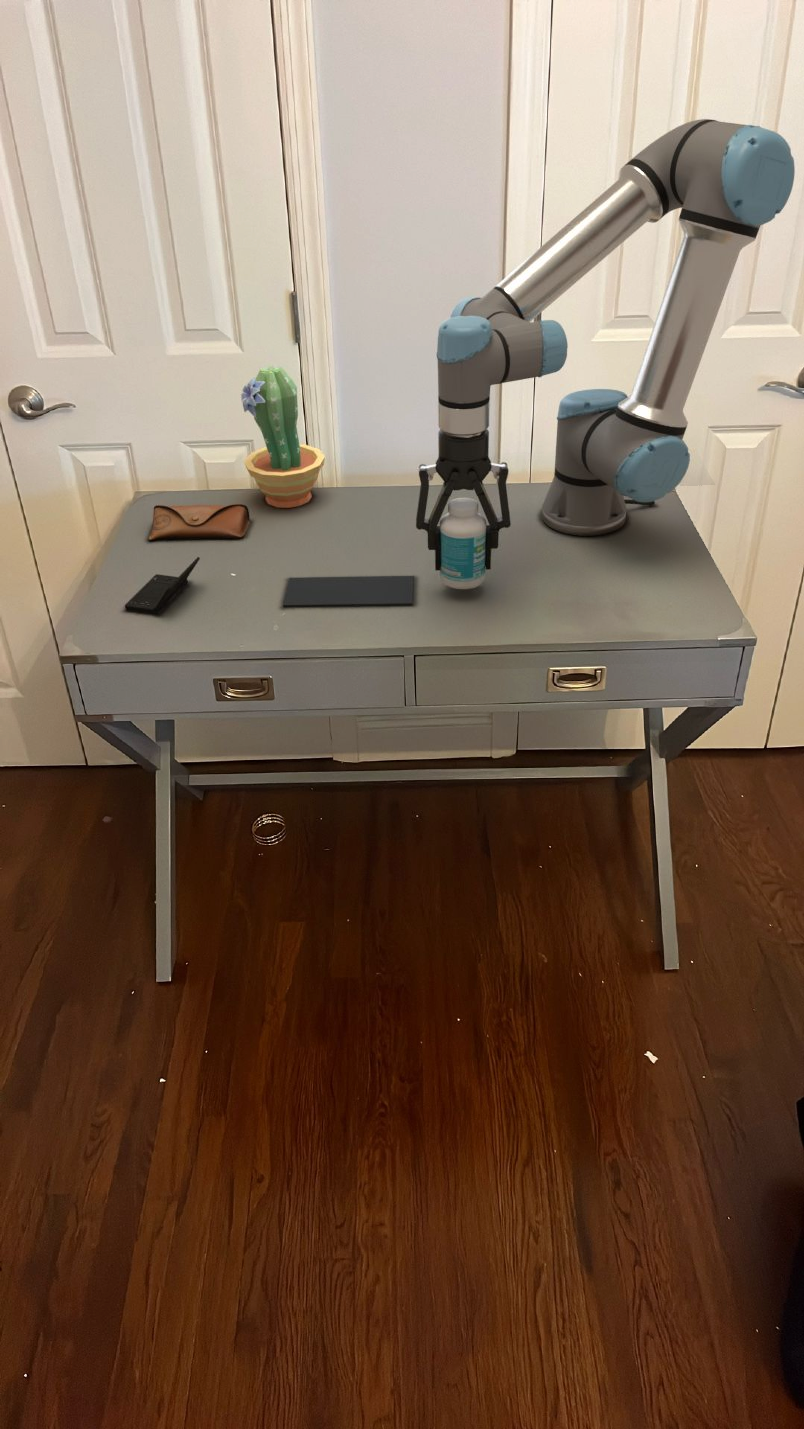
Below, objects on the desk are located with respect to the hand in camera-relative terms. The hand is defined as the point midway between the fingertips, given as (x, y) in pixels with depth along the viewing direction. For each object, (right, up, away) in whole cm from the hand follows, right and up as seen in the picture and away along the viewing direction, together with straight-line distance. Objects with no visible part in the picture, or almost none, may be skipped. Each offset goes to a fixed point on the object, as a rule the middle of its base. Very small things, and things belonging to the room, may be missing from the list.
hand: (462, 565), depth 161 cm
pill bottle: (0, -2, +2) cm, 3 cm away
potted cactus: (-32, +18, +34) cm, 50 cm away
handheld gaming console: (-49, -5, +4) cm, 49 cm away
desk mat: (-18, -4, +4) cm, 19 cm away
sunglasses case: (-47, +10, +23) cm, 54 cm away
